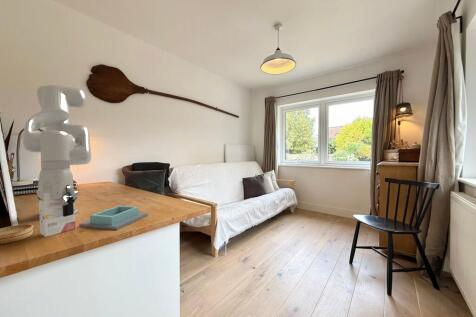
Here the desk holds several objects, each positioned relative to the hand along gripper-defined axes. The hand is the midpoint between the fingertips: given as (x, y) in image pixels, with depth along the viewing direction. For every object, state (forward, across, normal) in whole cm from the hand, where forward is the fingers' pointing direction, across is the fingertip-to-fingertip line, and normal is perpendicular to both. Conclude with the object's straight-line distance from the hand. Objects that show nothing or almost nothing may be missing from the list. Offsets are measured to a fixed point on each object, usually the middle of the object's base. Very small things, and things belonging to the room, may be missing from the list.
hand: (57, 214), depth 72 cm
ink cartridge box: (+6, 0, 0) cm, 6 cm away
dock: (+6, +10, +14) cm, 19 cm away
